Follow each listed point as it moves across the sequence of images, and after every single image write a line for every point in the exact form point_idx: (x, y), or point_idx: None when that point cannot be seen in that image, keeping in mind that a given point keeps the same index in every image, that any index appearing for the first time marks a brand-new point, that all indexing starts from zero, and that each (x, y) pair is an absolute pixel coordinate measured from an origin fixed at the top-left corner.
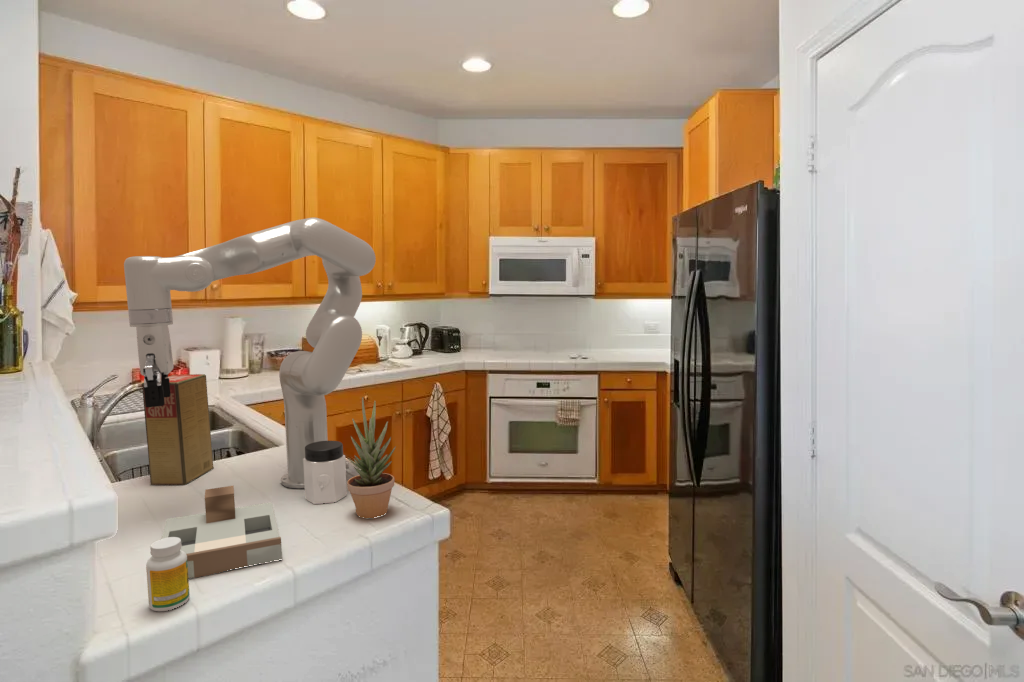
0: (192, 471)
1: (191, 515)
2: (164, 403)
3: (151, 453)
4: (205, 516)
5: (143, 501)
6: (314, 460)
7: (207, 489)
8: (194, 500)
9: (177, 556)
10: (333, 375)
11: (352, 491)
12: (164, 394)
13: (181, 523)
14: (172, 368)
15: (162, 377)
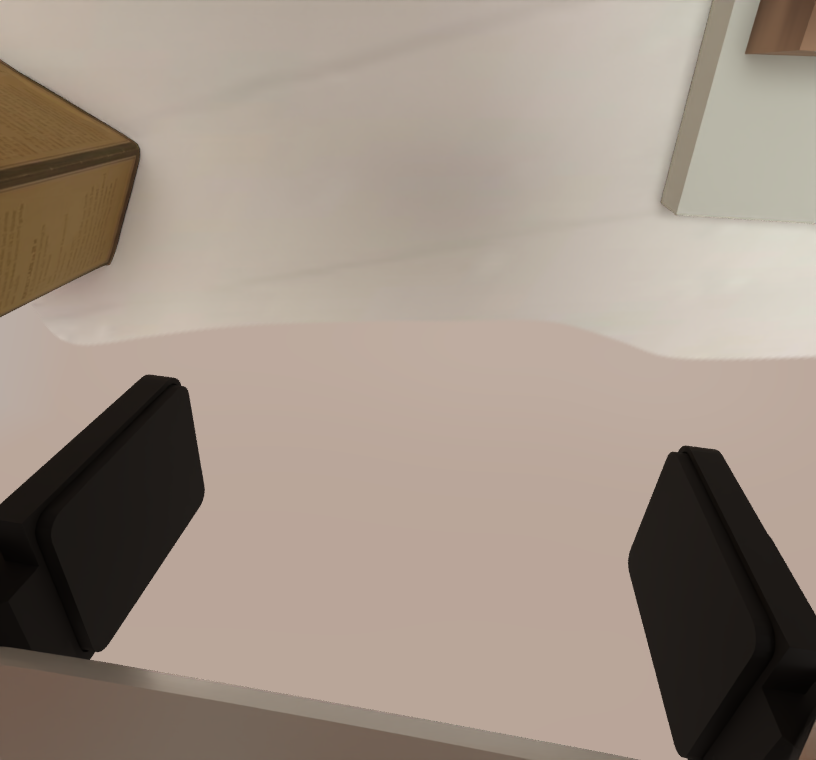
0: (65, 118)
1: (709, 122)
2: (688, 449)
3: (27, 295)
4: (771, 61)
5: (277, 280)
6: None
7: (807, 38)
8: (342, 109)
9: None
10: None
11: None
12: (181, 435)
13: (777, 161)
14: (122, 712)
15: (29, 599)
